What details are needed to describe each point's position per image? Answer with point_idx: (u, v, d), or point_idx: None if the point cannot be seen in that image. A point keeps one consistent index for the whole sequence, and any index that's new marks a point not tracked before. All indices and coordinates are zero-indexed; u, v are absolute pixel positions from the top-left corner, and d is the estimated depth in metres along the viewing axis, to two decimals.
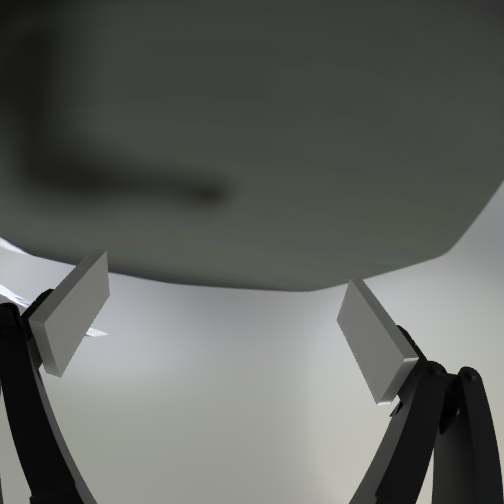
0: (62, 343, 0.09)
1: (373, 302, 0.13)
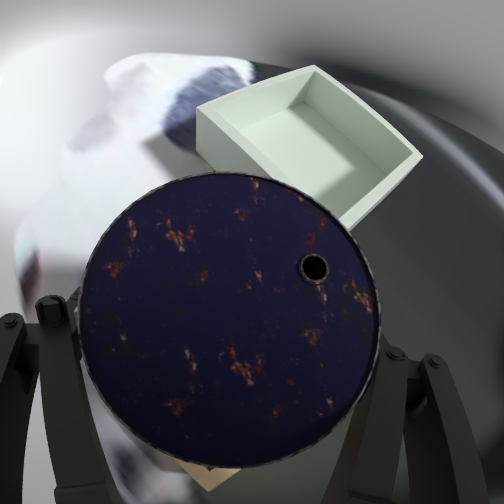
0: None
1: None
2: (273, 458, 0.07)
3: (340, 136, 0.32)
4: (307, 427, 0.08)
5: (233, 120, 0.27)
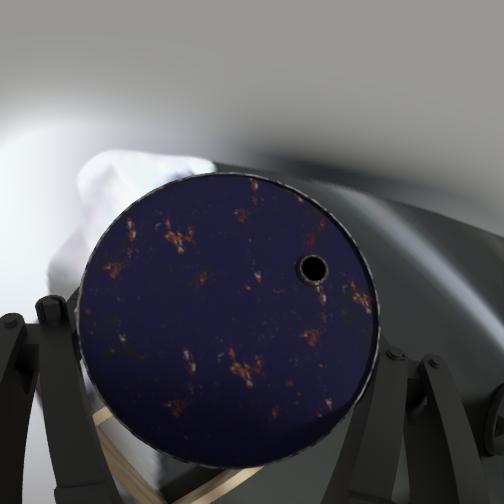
0: None
1: None
2: (272, 459, 0.07)
3: None
4: (306, 428, 0.08)
5: None
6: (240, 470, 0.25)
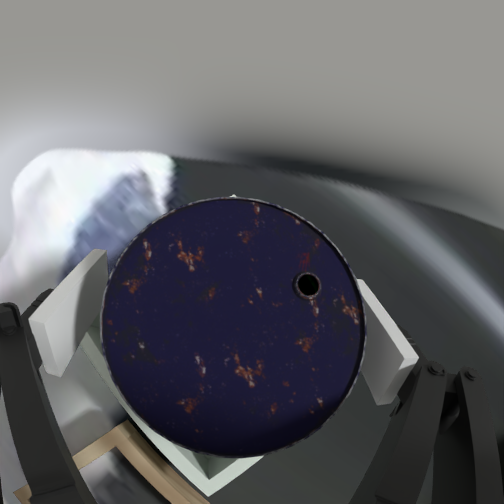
0: (62, 343, 0.09)
1: (373, 302, 0.13)
2: (271, 449, 0.08)
3: None
4: (300, 423, 0.09)
5: None
6: None
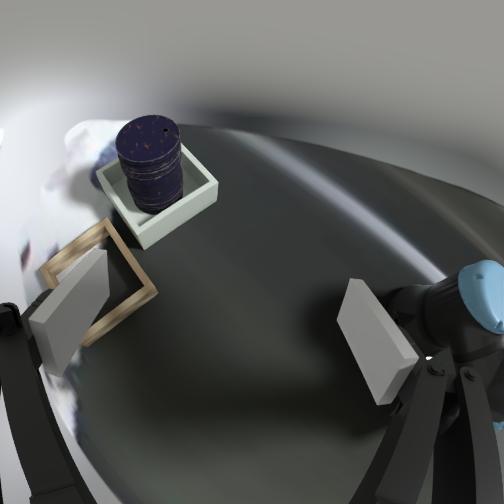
0: (62, 343, 0.09)
1: (373, 302, 0.13)
2: (148, 161, 0.37)
3: (183, 172, 0.55)
4: (156, 156, 0.38)
5: (117, 173, 0.51)
6: (133, 295, 0.43)
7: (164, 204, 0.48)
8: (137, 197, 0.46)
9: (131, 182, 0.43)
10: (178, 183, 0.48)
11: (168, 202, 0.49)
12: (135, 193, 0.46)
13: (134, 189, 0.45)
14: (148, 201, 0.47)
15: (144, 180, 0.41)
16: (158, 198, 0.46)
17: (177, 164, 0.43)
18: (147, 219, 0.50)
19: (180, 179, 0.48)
